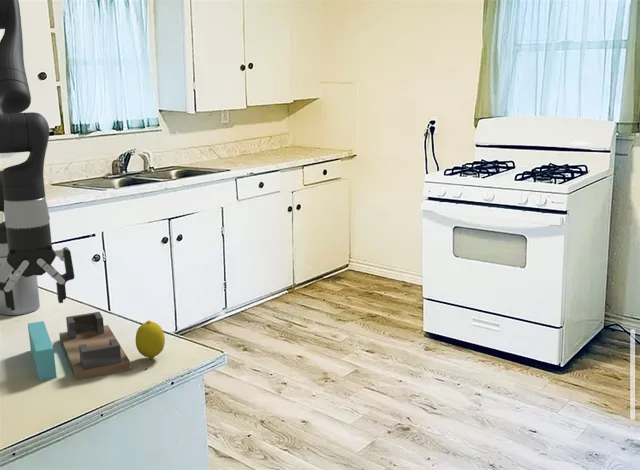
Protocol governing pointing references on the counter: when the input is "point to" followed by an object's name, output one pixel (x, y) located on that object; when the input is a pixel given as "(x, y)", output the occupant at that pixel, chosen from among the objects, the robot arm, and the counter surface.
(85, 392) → the counter surface
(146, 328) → the lemon
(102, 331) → the slat frame
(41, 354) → the slat
